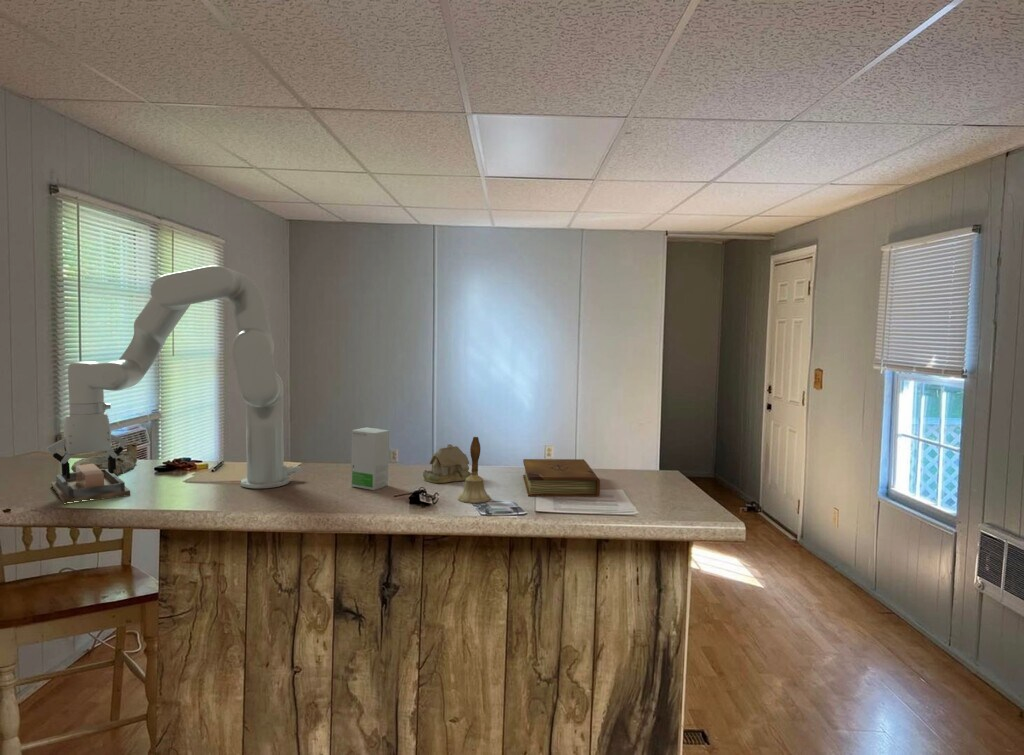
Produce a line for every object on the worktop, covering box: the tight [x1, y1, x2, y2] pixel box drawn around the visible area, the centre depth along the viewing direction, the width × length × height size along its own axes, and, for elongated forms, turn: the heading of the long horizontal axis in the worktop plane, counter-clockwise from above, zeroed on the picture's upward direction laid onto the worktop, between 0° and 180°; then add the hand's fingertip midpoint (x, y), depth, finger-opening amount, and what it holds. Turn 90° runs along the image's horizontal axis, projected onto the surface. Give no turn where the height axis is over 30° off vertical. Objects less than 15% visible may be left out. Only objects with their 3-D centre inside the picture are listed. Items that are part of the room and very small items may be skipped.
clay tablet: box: [70, 451, 138, 476], centre depth 197 cm, size 14×5×20 cm
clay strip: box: [76, 464, 104, 488], centre depth 172 cm, size 4×14×4 cm, turn 41°
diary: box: [522, 458, 601, 498], centre depth 184 cm, size 23×19×6 cm
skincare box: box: [350, 426, 390, 491], centre depth 180 cm, size 8×7×16 cm
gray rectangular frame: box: [50, 469, 131, 504], centre depth 172 cm, size 14×22×3 cm, turn 41°
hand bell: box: [457, 436, 491, 504], centre depth 168 cm, size 8×8×16 cm
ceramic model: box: [422, 444, 471, 484], centre depth 190 cm, size 14×11×10 cm
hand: (89, 475), depth 171 cm, fingers open, 9 cm apart
